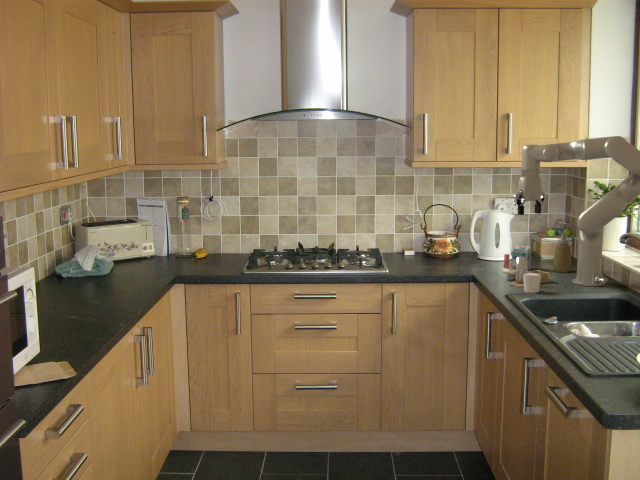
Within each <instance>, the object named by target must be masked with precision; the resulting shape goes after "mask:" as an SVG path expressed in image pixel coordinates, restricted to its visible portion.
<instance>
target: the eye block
mask: <svg viewBox="0 0 640 480" xmlns="http://www.w3.org/2000/svg"><path fill="white" fill-rule="evenodd" d="M526 273H538V274H541V279H540V284H545V283H550V282H551V281H550V278H551V277H550V276H551V273H550V272H548V271H543V270H539V269H536V270H529V271H527V272H526Z"/></svg>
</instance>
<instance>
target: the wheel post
mask: <svg viewBox="0 0 640 480" xmlns="http://www.w3.org/2000/svg"><path fill="white" fill-rule="evenodd" d="M506 278H507V280H506V281H507V282H508V281H509V282H515V278H516V275H510V274H507V277H506Z"/></svg>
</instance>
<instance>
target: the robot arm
mask: <svg viewBox="0 0 640 480" xmlns="http://www.w3.org/2000/svg"><path fill="white" fill-rule="evenodd" d="M601 159H612V160H613V161H615V162H616V163H617V164H619V165H620V166H621V167H622V168H624V169H626V171H628V172H629V173H630V174H629V175H628V176H627V177H626V178H625V179H624V180H622V181H621V182H620V183H618V185H616V186H615V187H614V188H613V189H611V190H609V191H608V192H606V193H605V194H603V196H602V197H600V198H599V199H598V200H596V201H595V202H594V203H593V204H591V205H590V206H589V207H587V208H586V209H584V210H583V211H581V213H580V214H579V215H578V217H577V220H576V225H577V228H578V239H577V240H578V244H577V261H576V263H577V265H576V278H573V279H572V283H573V284H575V285H578V286H584V287H585V286H586V287H600V286H604V285H605V284H606V283H607V282H608V280H609V279H608V277H604V273H602V261H603V248H604V247H603V244H604V228H605V226H607V225H608V224H609V223H611V222H612V221H613V220H615V218H617V217H619V216H620V215H621V213H622V212H624V210H625V208H626V207H627V206H628V205H630V204H631V203H632V202H633V201H635V200H636V199H637V198H638V197H640V150H639V149H638V148H636V147H635V146H634V145H633V144H631V143H630V142H628V141H627V139H626V138H625V137H623V136H621V135H615V136H605V137H594V138H585V139H584V138H583V139H580V140H576V141H569V142H559V143H549V144H543V145H540V144H525V145H523V146H522V148H521V171H520V172H521V175H520V177H519V180H518V186H517V193H515V194H514V195H513V199H514V202H515V203H516V206H517V215H519V216H524V215H525V205H524V204H525V203H526V202H533V201H534V202H535V203H534V214H538V215H539V214H540V215H541V214H542V205H543V204H544V203H543V202H544V200H545V197H546V196H547V194H546V192H544V191H542V188H543V187H542V179H541V163H542V162H544V163H553V162H559V161H560V162H562V161H572V160H573V161H574V160H580V161H589V160H590V161H591V160H601Z"/></svg>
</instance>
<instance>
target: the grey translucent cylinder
mask: <svg viewBox="0 0 640 480" xmlns="http://www.w3.org/2000/svg"><path fill="white" fill-rule="evenodd" d="M525 260H526V257H521V256H519V257H516V278H515V281H514V282H515V283H516V284H524V280H523V274H524V273H525Z"/></svg>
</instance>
